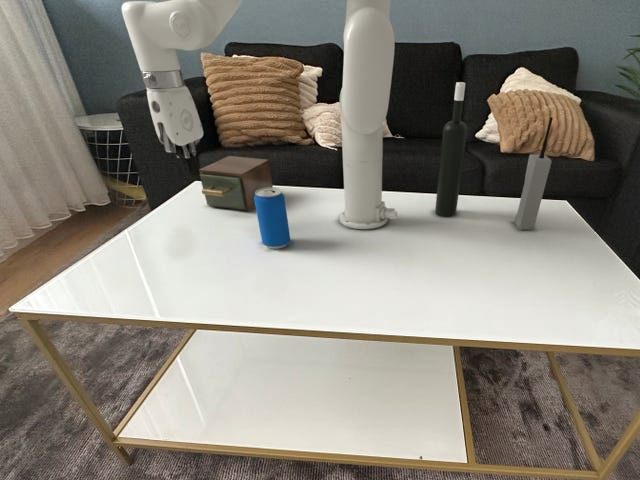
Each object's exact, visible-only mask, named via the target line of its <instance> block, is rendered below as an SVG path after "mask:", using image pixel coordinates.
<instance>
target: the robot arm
mask: <svg viewBox="0 0 640 480" xmlns="http://www.w3.org/2000/svg"><path fill="white" fill-rule="evenodd" d="M243 1H244V0H166V1H160V2H156V1H150V0H149V1H148V0H134V1H126V2H123V3H122V5H121V14H122V18H123V21H124V23H125V27H126V29H127V32H128V36H129V39H130V42H131V45H132V48H133V51H134V54H135V58H136V60H137V63H138V66H139V69H140V72H141V77H142V81H143V83H144V85H145V87H146V97H147V102H148V107H149V112H150V115H151V119H152V124H153V126H154V130H155V133H156V135H157V137H158V140H159V142H160V144H162V145H164V150H165V152H166V153H173V154H174V155H175V157H176V158H178V159H179V162H180V166H181V168H182V169H181V170H182V172H183V175H184V176H186V177H197V176H200V171H199V169H200V168H199V165H198V161H197V158H196V156H197V151H196V150H197V149H196V147H197V145H198V144H199V143H200V142H201V139H202V138H203V136H204V130H203V125H202V122H201V119H200V116H199V113H198V112H199V111H198V109H197V107H196V103H195V101H194V99H193V97H192V94H191V92H190V90H189V88H188V86H186V83H185V79H184V76H183V73H182V70H181V69H182V68H181V65H180V61H179V58H178V54H177V50H182V51H192V52H193V51H197V50H200V49H203V48H206V47H209V46H210V45H212V43H214V41H215V40H216V39H217V38H218V36H219V35H220V34H221V32H222V31H223V30H224V28H225V27H226V26H227V24H228V23H229V22H230V20H231V19H232V18H233V16H234V15H235V13H236V12H237V10H238V9H239V7H240V6H241V5H242V3H243ZM391 3H392V0H346V14H345V24H344V29H343V66H342V69H343V70H342V87H341V90H340V94H339V113H340V115H339V116H340V129H341V149H342V172H343V193H344V196H343V197H344V211H342V212H340V214H339V216H338V219H339V222H340V223H341V224H342V225H343V226H344V227H347V228H349V229H354V230H372V229H373V230H374V229H378V228H380V227H383V226H384V225H385V224H387V222H388V219H390V220H397V219H398V211H396V208H393V207H390V208H389V207H387V206H386V202H385V201H384V200H383V155H384V154H383V149H384V148H383V147H384V144H383V143H384V142H383V141H384V140H383V139H384V138H383V137H384V136H383V135H384V134H383V133H384V132H383V124H384V122H385V120H386V118H387V115H388V110H389V105H390V96H391V95H390V94H391V86H392V79H393V78H392V77H393V70H394V69H393V68H394V59H395V48H396V47H395V46H396V45H395V43H396V42H395V33H394V28H393V26H392V23H391V21H390V15H391V14H390V13H391Z"/></svg>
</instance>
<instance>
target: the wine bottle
mask: <svg viewBox="0 0 640 480" xmlns="http://www.w3.org/2000/svg"><path fill="white" fill-rule="evenodd" d="M465 90H466V82H463V81H462V82H461V81H459V82H457V81H456V82H455V89H454V99H453V100H454V103H453V111H452V119H451V120H450V121H448V122H446V124H444V126H443V129H442V139H441V150H440V158H439V159H440V160H439V168H438V177H437V179H438V180H437V189H436V190H437V191H436V199H435V207H434V208H435V209H434V213H435V215H436V216H439V217H442V218H451V217H452V218H453V217H455V216H456V214H457V210H458V209H457V208H458V202H459V193H460V187H461V179H462V173H463V172H462V171H463V165H464V164H463V163H464V157H465V149H466V141H467V135H468V126H467V124H466V123H465V122H463V121H461V120H462V111H463V103H464V98H465Z"/></svg>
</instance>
